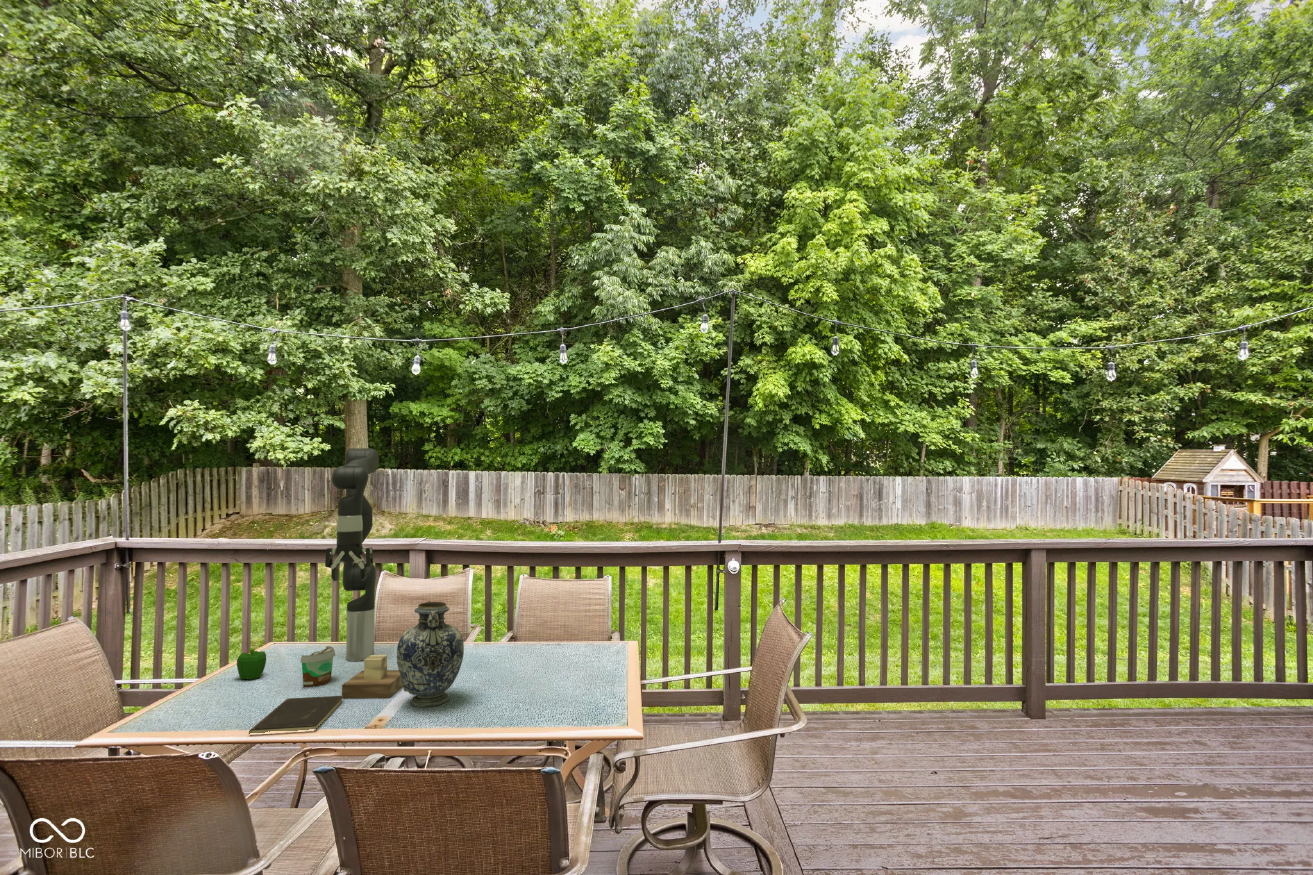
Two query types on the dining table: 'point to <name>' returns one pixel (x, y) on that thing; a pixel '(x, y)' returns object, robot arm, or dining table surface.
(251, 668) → the bell pepper
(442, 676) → the decorative vase
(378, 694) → the block
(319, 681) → the half round tub
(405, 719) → the dining table surface
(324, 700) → the hardcover book
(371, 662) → the maple block
